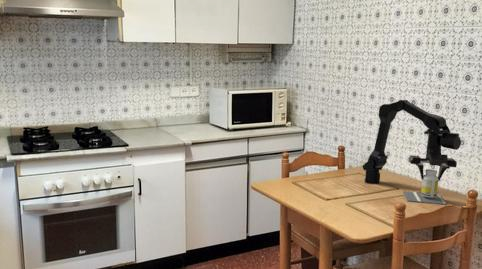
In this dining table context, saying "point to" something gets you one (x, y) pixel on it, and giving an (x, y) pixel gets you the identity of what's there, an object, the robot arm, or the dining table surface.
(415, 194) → the mat
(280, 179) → the dining table surface
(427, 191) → the pill bottle
